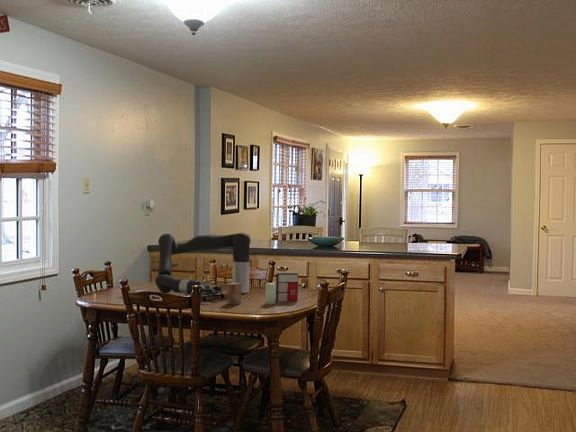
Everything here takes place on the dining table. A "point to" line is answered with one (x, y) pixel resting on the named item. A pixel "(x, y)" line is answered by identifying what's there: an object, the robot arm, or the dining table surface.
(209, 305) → the dining table surface
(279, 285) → the miniature cabinet
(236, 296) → the walnut block
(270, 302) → the sage cylinder
